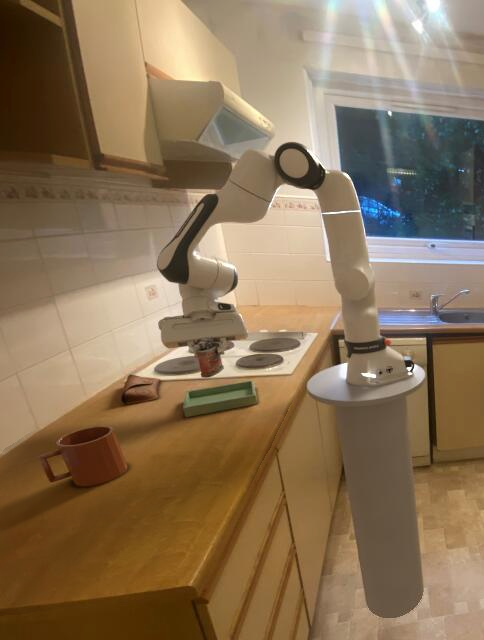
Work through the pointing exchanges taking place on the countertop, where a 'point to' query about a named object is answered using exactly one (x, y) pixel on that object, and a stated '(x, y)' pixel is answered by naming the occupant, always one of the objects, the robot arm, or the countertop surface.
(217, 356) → the lighter
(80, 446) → the mug
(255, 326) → the countertop surface
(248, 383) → the tray
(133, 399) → the sunglasses case
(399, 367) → the robot arm
